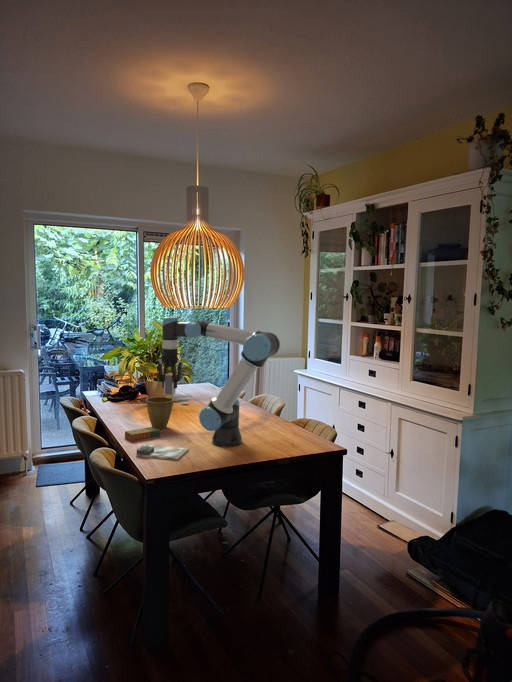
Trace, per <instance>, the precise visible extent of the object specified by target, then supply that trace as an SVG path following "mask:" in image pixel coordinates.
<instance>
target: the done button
mask: <svg viewBox="0 0 512 682" xmlns="http://www.w3.org/2000/svg"><path fill="white" fill-rule="evenodd" d="M149 445H150V444H142V445H141V446H142V450H148V449H149Z"/></svg>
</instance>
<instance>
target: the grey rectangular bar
mask: <svg viewBox="0 0 512 682" xmlns="http://www.w3.org/2000/svg"><path fill="white" fill-rule="evenodd" d="M172 382H173V375H172V372H171V373H170V372H167V374H165V394H166V395H165V397H166V398H172V399H174V396H175V395H172Z"/></svg>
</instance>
